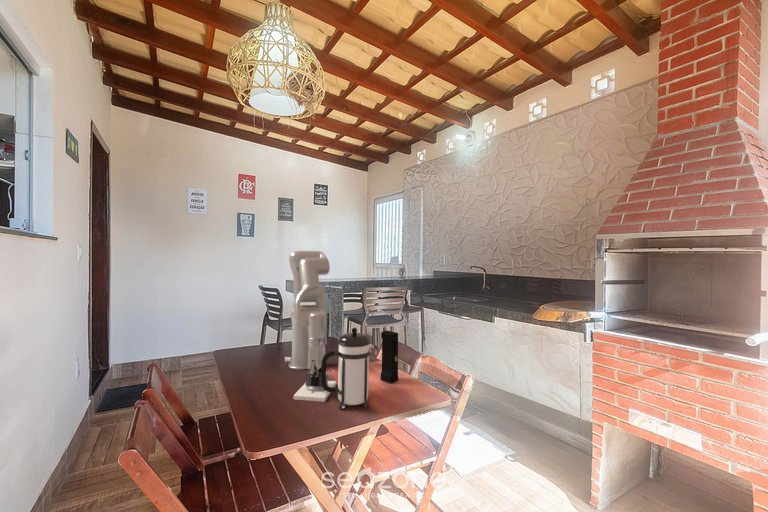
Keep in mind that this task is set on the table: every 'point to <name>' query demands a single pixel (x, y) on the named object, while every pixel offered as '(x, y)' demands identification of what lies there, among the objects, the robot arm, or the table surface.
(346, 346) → the coffee press
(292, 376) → the table surface
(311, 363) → the robot arm
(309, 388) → the dial
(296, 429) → the table surface
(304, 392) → the dial panel
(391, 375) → the portable radio
